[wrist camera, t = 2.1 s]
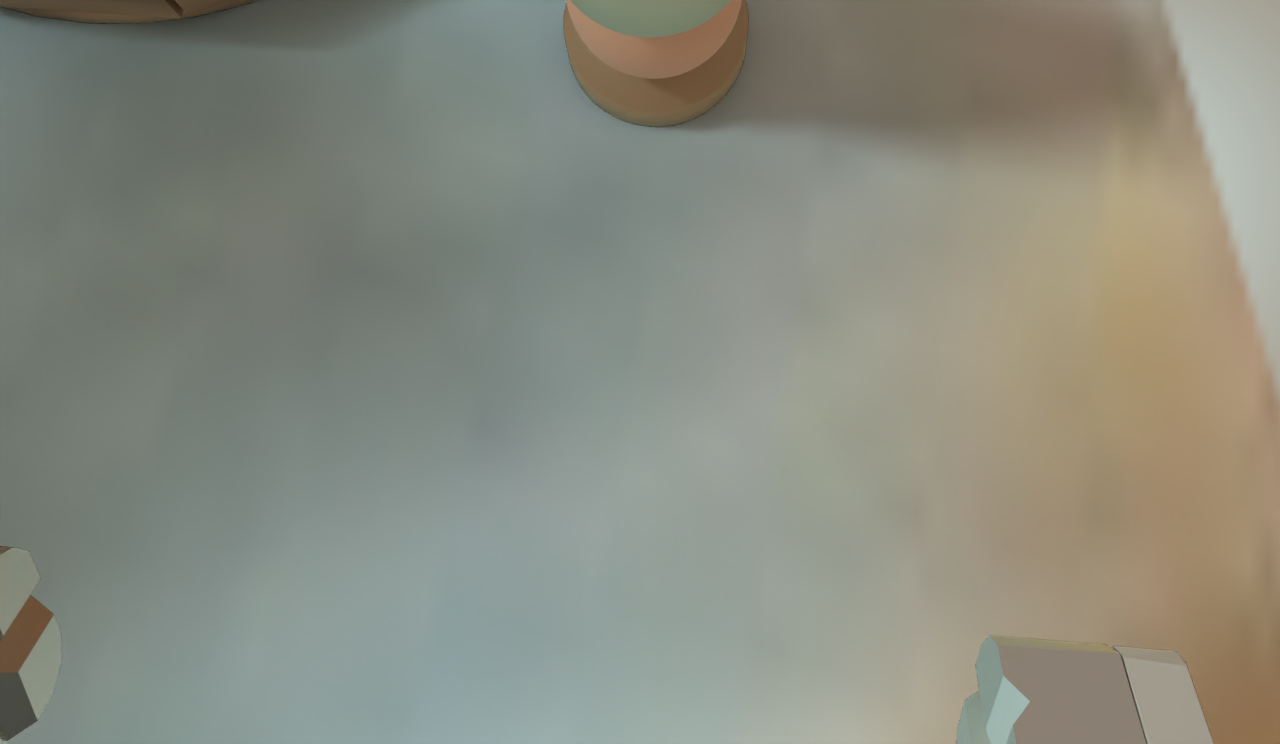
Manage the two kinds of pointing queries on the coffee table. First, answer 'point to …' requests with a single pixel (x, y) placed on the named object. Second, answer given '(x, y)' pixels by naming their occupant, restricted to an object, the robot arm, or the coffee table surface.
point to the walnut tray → (120, 9)
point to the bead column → (656, 55)
